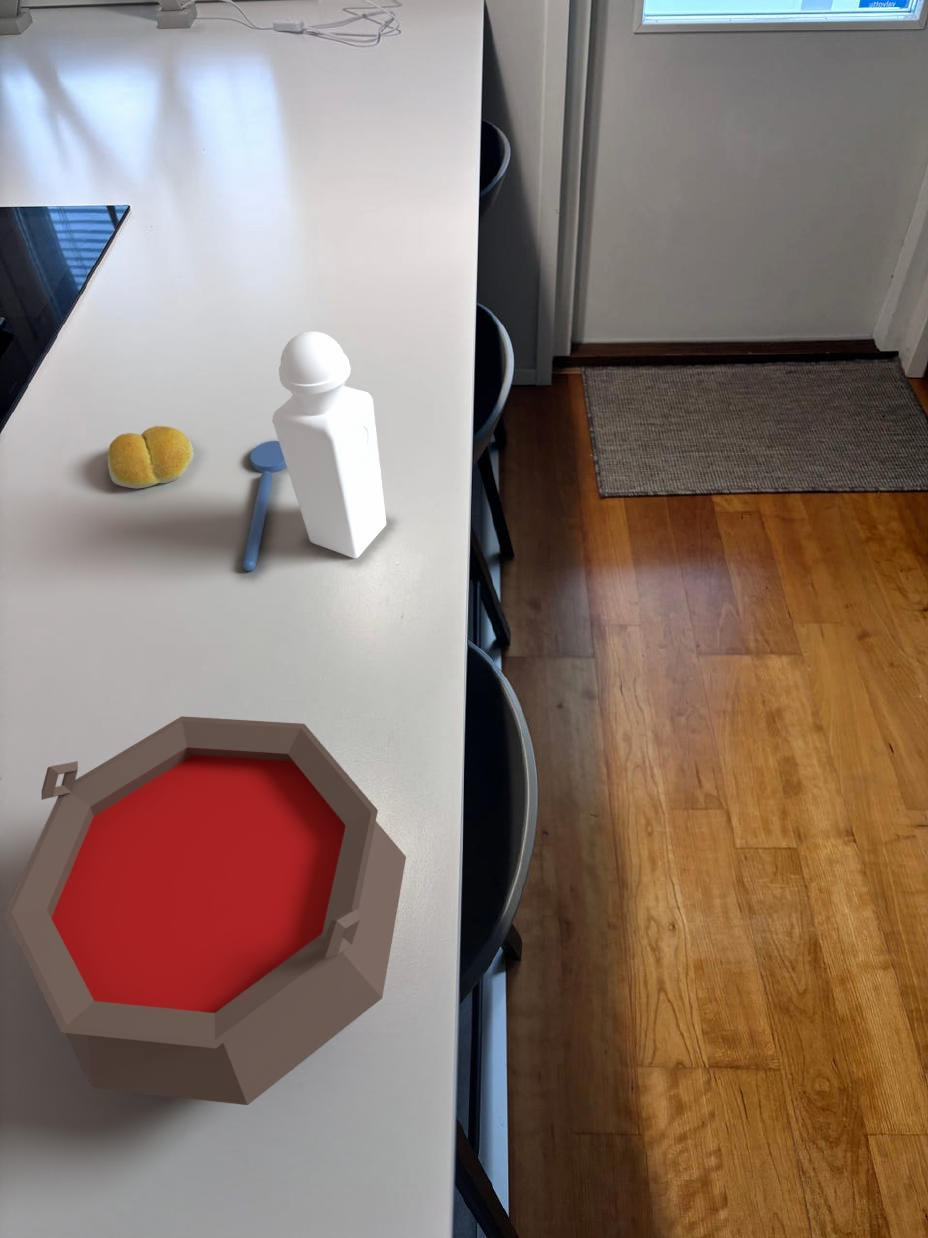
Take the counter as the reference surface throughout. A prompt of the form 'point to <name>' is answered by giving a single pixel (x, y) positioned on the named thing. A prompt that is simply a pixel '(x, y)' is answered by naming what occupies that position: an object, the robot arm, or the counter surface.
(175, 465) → the bread roll
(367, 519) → the white square bottle
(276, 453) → the spoon
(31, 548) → the counter surface
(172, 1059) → the octagonal pot
